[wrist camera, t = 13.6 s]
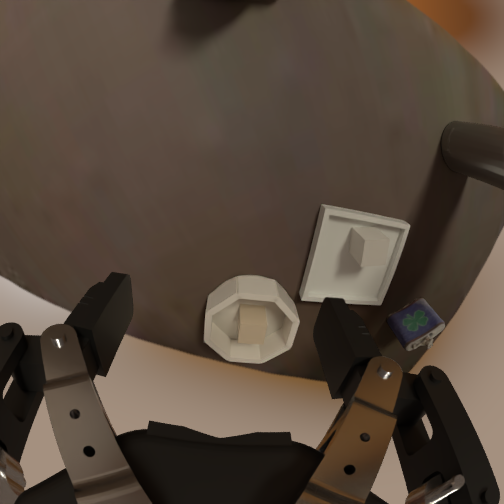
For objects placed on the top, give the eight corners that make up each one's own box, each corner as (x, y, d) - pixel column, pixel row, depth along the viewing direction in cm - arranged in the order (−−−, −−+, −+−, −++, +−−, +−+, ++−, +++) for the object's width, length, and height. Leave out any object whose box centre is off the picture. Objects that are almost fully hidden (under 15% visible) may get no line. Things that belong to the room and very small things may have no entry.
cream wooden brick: (264, 305, 44) (267, 325, 40) (261, 324, 46) (263, 344, 41) (240, 303, 44) (240, 323, 39) (237, 322, 45) (237, 342, 41)
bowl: (299, 279, 43) (306, 298, 38) (281, 343, 49) (285, 364, 44) (210, 269, 42) (207, 288, 37) (205, 337, 48) (202, 358, 43)
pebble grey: (374, 226, 39) (389, 239, 34) (371, 250, 41) (385, 265, 36) (351, 227, 39) (364, 240, 34) (348, 251, 40) (360, 266, 36)
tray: (403, 220, 40) (410, 225, 38) (376, 298, 46) (381, 305, 44) (321, 204, 38) (325, 208, 36) (299, 292, 44) (301, 300, 42)
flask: (422, 294, 46) (450, 327, 37) (423, 304, 48) (450, 337, 38) (384, 316, 48) (408, 353, 38) (387, 325, 49) (409, 362, 39)
